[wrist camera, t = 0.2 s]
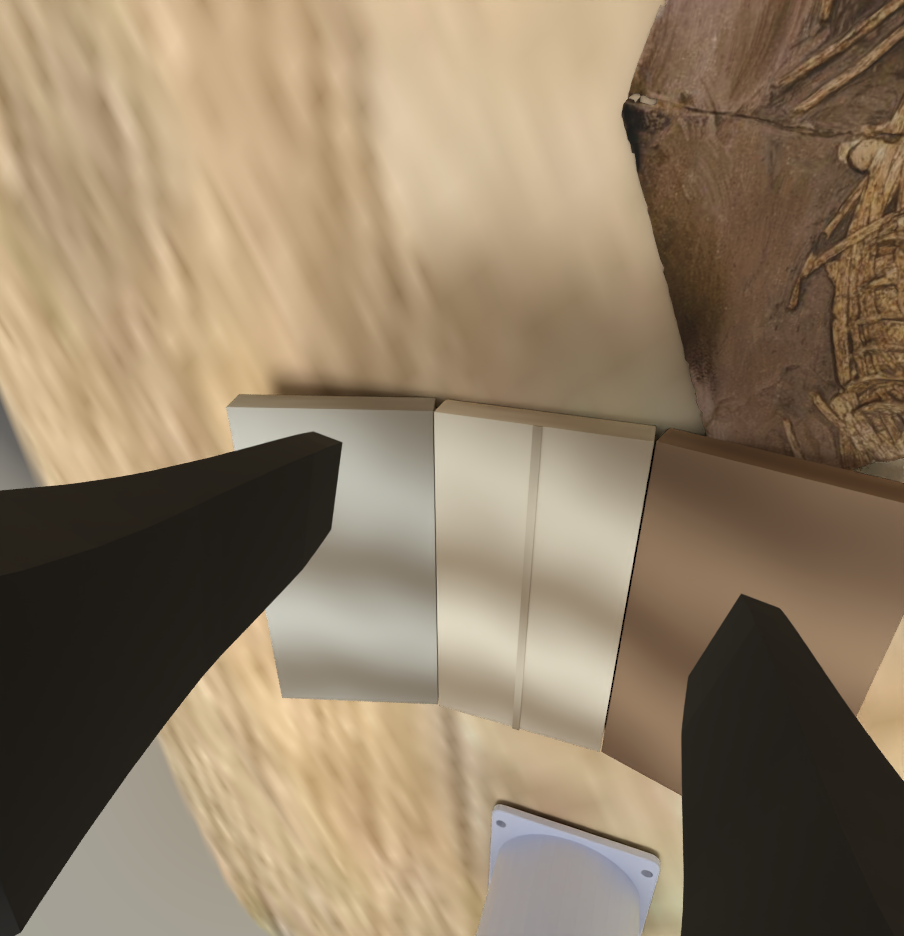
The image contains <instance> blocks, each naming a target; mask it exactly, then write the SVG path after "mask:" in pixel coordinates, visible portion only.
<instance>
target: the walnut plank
mask: <svg viewBox="0 0 904 936" xmlns="http://www.w3.org/2000/svg"><path fill="white" fill-rule="evenodd" d="M740 594H744V595H747V596H749V597H752V598H755V599H757V600H760V601H763V602H765V603H768V604H771V605H773V606H776V607H778V608H780V609H781V610H782V611H783V612H784V614H785V615H786V616H787V618H788V619H789V620H790V622H791V623H792V625H793V626H794V627H795V629H796V630H797V632H798V633H799V635H800V636H801V638H802V639H803V641H804V642H805V643H806V645H807V646H808V648H809V649H810V651H811V652H812V654H813V655H814V657H815V658H816V660H817V661H818V663H819V664H820V666H821V667H822V669H823V670H824V672H825V673H826V675H827V676H828V678H829V679H830V681H831V682H832V683H833V685H834V686H835V688H836V689H837V691H838V692H839V694H840V695H841V697H842V698H843V699H844V701H845V702H846V704H847V705H848V707H849V708H850V710H851V711H852V712H853V714H854V715H855V717H856V716H857V714H858V712H859V709H860V707H861V705H862V703H863V701H864V699H865V696H866V694H867V692H868V690H869V688H870V686H871V684H872V681H873V679H874V677H875V675H876V673H877V671H878V668H879V666H880V664H881V662H882V660H883V658H884V656H885V653H886V651H887V649H888V647H889V645H890V643H891V640H892V638H893V636H894V634H895V632H896V630H897V627H898V625H899V623H900V621H901V619H902V617H903V615H904V483H901V482H896V481H892V480H888V479H884V478H880V477H875V476H871V475H867V474H863V473H858V472H854V471H850V470H846V469H841V468H837V467H833V466H829V465H825V464H820V463H816V462H812V461H808V460H803V459H799V458H795V457H791V456H786V455H782V454H778V453H774V452H770V451H765V450H761V449H757V448H753V447H748V446H744V445H740V444H736V443H731V442H727V441H723V440H719V439H714V438H710V437H706V436H702V435H698V434H693V433H689V432H685V431H681V430H676V429H672V428H669V429H668V430H667V431H666V432H665V433H664V434H663V435H662V436H661V437H660V438H659V439H658V440H657V442H656V448H655V453H654V459H653V465H652V470H651V476H650V481H649V487H648V493H647V498H646V504H645V510H644V515H643V521H642V526H641V532H640V538H639V543H638V549H637V555H636V560H635V566H634V571H633V577H632V583H631V588H630V594H629V600H628V605H627V611H626V616H625V622H624V628H623V633H622V639H621V645H620V650H619V656H618V662H617V667H616V673H615V678H614V684H613V690H612V695H611V701H610V707H609V712H608V718H607V723H606V729H605V735H604V740H603V746H602V752H603V753H605V754H607V755H608V756H610V757H612V758H614V759H616V760H618V761H619V762H621V763H623V764H625V765H627V766H629V767H630V768H632V769H634V770H636V771H638V772H639V773H641V774H643V775H645V776H647V777H649V778H650V779H652V780H654V781H656V782H658V783H660V784H661V785H663V786H665V787H667V788H669V789H670V790H672V791H674V792H676V793H678V794H680V795H681V796H682V765H681V730H682V721H683V712H684V703H685V696H686V689H687V681H688V676H689V674H690V673H691V671H692V670H693V668H694V667H695V665H696V663H697V662H698V660H699V659H700V657H701V656H702V654H703V652H704V651H705V649H706V648H707V646H708V645H709V643H710V641H711V640H712V638H713V637H714V635H715V634H716V632H717V630H718V629H719V627H720V626H721V624H722V623H723V621H724V619H725V618H726V616H727V615H728V613H729V612H730V610H731V608H732V607H733V605H734V604H735V602H736V601H737V599H738V597H739V596H740Z"/></svg>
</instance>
